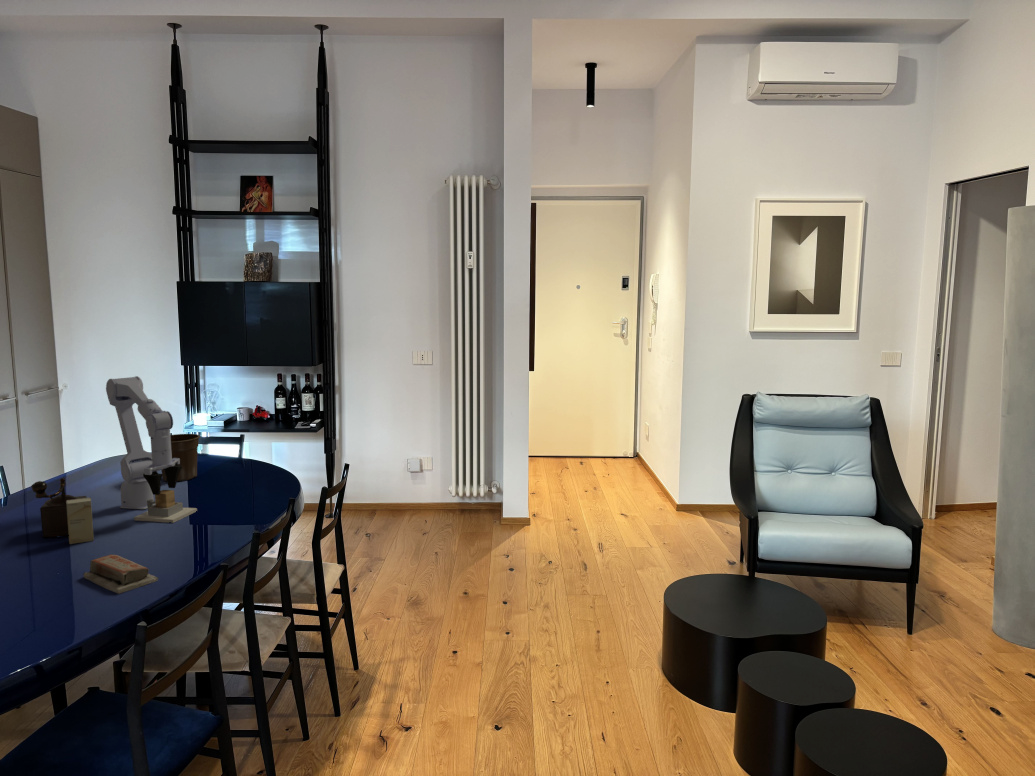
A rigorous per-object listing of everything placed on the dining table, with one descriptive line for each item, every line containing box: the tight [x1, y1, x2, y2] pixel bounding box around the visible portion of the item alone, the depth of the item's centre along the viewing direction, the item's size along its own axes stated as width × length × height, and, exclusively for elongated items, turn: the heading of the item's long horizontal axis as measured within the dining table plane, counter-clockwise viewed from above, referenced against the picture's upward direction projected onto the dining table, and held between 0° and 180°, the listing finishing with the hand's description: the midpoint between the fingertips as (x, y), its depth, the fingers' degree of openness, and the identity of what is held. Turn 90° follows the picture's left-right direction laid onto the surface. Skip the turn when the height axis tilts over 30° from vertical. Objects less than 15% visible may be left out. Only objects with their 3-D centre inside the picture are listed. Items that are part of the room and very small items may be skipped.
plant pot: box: [160, 433, 201, 482], centre depth 276 cm, size 16×16×16 cm
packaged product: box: [83, 554, 159, 595], centre depth 179 cm, size 18×5×10 cm
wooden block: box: [154, 489, 176, 508], centre depth 229 cm, size 4×4×7 cm
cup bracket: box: [133, 499, 198, 524], centre depth 230 cm, size 14×12×5 cm
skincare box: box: [66, 497, 95, 545], centre depth 206 cm, size 6×4×12 cm
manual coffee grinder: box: [30, 477, 88, 538], centre depth 212 cm, size 16×11×18 cm
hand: (164, 491), depth 229 cm, fingers open, 7 cm apart
